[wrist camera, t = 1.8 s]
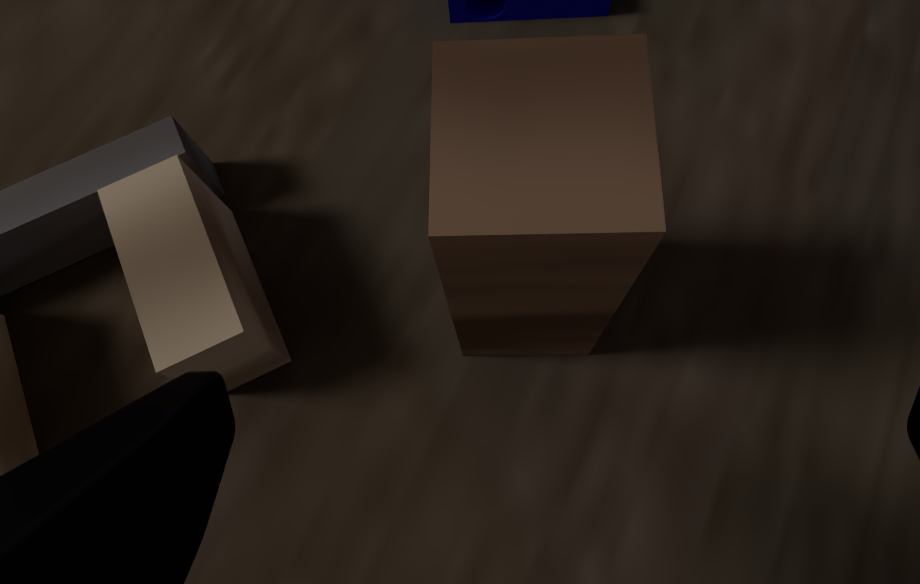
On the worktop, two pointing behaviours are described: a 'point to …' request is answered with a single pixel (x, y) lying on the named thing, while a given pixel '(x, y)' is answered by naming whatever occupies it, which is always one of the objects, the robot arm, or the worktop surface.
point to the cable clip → (524, 9)
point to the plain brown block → (541, 187)
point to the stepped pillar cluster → (140, 261)
